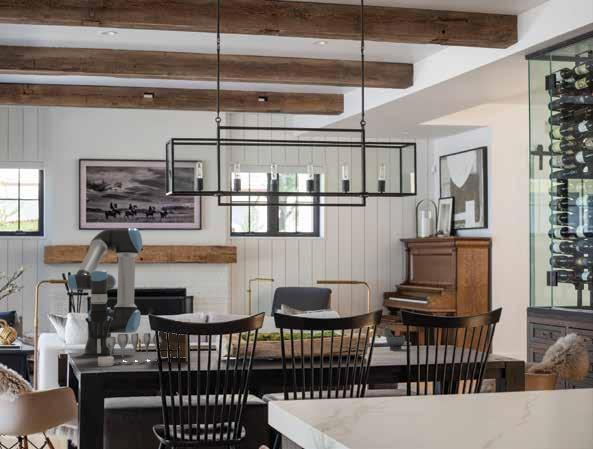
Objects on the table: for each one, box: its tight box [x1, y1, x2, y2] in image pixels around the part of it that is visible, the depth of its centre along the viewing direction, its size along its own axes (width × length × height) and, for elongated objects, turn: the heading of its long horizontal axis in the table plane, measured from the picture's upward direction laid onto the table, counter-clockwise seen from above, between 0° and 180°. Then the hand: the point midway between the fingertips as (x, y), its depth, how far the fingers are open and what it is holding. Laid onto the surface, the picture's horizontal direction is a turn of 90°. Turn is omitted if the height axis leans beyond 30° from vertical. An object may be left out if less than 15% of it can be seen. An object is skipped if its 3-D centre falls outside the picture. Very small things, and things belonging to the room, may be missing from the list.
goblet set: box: [106, 332, 165, 364], centre depth 455 cm, size 28×6×13 cm, turn 107°
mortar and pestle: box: [383, 326, 406, 351], centre depth 500 cm, size 11×9×12 cm
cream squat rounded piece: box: [97, 355, 115, 367], centre depth 440 cm, size 7×7×4 cm
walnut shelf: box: [159, 318, 191, 363], centre depth 456 cm, size 20×16×19 cm
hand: (99, 352), depth 453 cm, fingers closed
